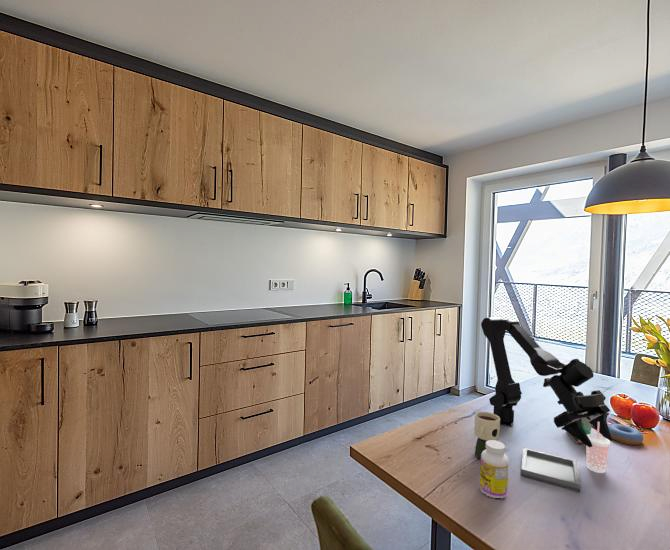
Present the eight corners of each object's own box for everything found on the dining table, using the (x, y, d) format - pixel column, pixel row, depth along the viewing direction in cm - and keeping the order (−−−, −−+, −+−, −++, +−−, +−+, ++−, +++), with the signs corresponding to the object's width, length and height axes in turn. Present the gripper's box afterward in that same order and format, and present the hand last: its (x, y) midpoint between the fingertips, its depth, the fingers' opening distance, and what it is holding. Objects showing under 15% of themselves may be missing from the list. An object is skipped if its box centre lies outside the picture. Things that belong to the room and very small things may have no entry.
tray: (521, 475, 105) (521, 469, 105) (523, 453, 117) (523, 447, 117) (580, 492, 98) (580, 484, 98) (576, 466, 111) (576, 460, 110)
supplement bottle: (474, 484, 101) (477, 438, 100) (498, 483, 101) (500, 437, 101) (487, 500, 94) (489, 451, 93) (512, 499, 95) (514, 450, 94)
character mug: (492, 469, 108) (494, 425, 107) (467, 460, 112) (469, 418, 112) (502, 454, 116) (504, 413, 116) (479, 446, 121) (481, 407, 120)
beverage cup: (614, 474, 107) (617, 426, 106) (594, 474, 107) (596, 427, 106) (597, 462, 113) (600, 417, 112) (578, 463, 113) (581, 417, 112)
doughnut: (646, 439, 128) (645, 426, 128) (640, 450, 122) (639, 436, 122) (611, 431, 136) (610, 419, 136) (603, 441, 129) (602, 428, 129)
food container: (600, 448, 122) (602, 418, 121) (579, 446, 123) (581, 416, 122) (583, 431, 134) (585, 404, 133) (564, 429, 135) (566, 402, 134)
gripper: (565, 385, 109) (603, 439, 99) (605, 378, 116) (643, 427, 107) (539, 401, 116) (572, 453, 107) (578, 394, 124) (612, 442, 114)
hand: (601, 443), depth 109 cm, fingers open, 9 cm apart
